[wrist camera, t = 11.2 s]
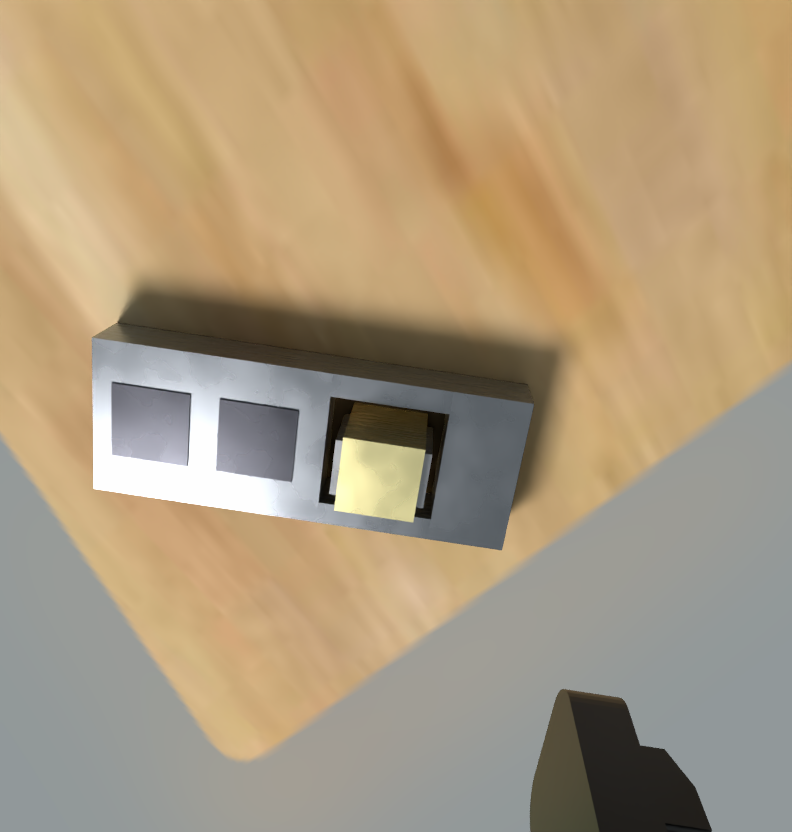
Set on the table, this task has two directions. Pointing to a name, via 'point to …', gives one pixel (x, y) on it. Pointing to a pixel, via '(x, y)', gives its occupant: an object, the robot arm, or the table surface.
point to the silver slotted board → (292, 430)
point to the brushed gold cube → (381, 462)
